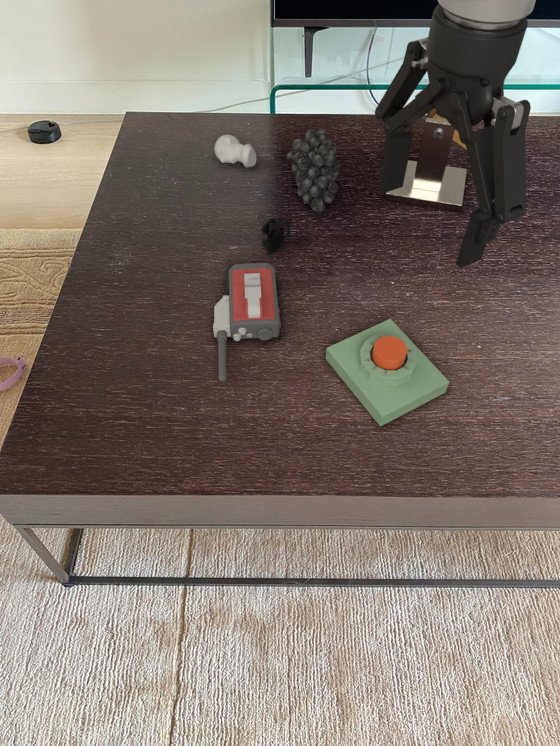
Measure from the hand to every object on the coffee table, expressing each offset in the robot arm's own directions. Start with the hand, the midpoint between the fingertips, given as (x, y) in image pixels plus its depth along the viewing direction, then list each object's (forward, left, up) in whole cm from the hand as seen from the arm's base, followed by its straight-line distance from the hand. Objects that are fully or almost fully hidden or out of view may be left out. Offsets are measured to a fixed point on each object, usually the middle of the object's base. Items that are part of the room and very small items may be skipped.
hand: (427, 223), depth 66 cm
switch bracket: (+24, -24, -20) cm, 39 cm away
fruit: (+32, -7, -20) cm, 39 cm away
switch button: (-4, +5, -16) cm, 17 cm away
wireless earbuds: (+24, +5, -20) cm, 32 cm away
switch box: (-4, +5, -20) cm, 20 cm away
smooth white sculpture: (+46, 0, -20) cm, 51 cm away
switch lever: (+22, -27, -12) cm, 37 cm away
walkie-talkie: (+12, +16, -20) cm, 28 cm away
